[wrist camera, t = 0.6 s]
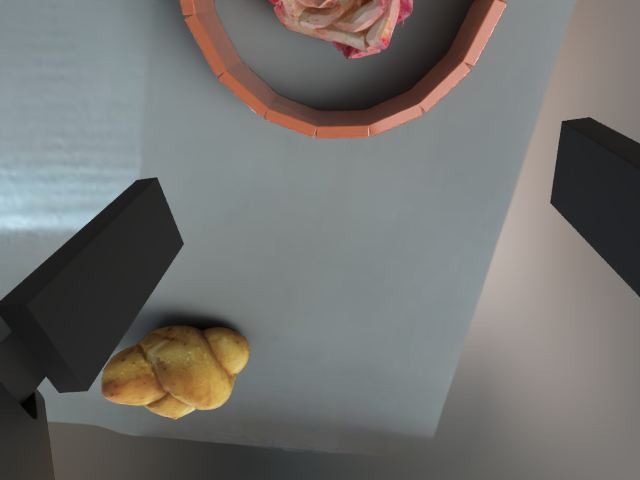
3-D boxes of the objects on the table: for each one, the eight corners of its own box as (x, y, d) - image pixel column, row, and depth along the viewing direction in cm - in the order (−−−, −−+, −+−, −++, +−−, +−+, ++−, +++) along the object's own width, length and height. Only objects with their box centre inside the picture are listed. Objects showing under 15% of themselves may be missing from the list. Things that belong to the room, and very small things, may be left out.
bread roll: (242, 306, 39) (219, 371, 32) (268, 373, 44) (253, 442, 37) (124, 319, 41) (79, 384, 34) (161, 382, 46) (128, 449, 39)
